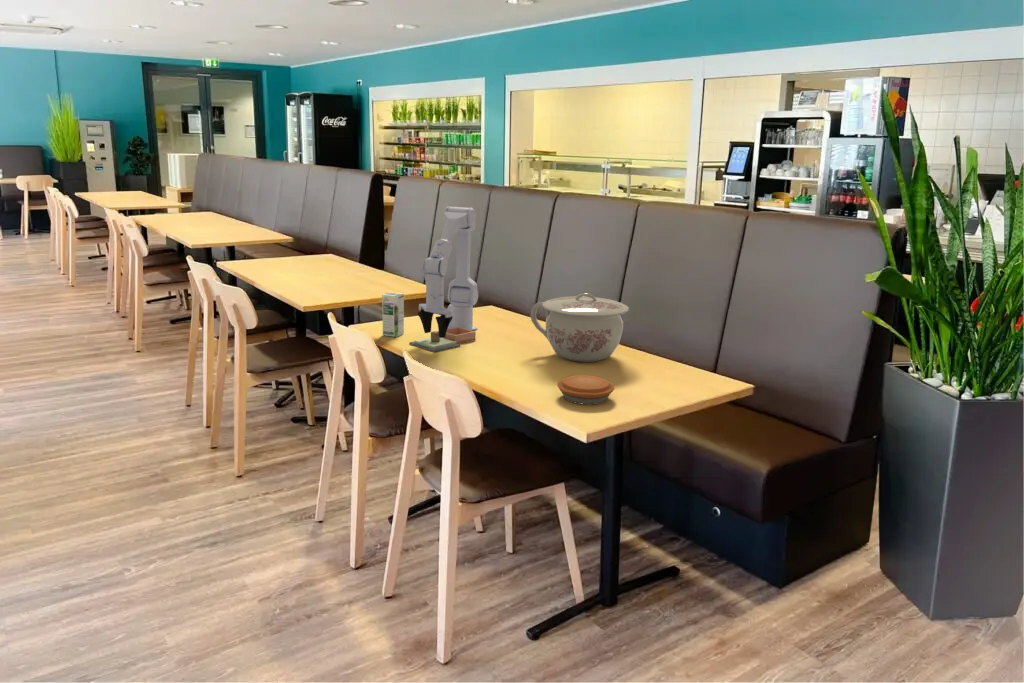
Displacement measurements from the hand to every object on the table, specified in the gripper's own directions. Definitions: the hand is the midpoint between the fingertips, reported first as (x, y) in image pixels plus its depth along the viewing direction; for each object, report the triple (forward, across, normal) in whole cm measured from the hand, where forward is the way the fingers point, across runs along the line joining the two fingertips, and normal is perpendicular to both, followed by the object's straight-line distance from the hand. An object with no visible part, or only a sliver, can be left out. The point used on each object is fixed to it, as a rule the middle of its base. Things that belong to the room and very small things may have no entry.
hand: (434, 334), depth 256 cm
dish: (+4, -1, +10) cm, 11 cm away
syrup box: (+4, -20, -2) cm, 20 cm away
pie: (+4, +67, -3) cm, 67 cm away
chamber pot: (+4, +40, +28) cm, 49 cm away
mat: (+4, 0, 0) cm, 4 cm away
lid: (+3, 0, 0) cm, 3 cm away
